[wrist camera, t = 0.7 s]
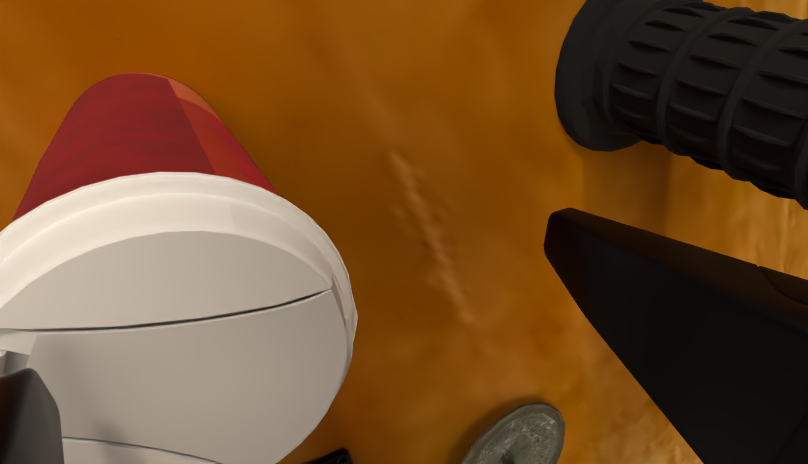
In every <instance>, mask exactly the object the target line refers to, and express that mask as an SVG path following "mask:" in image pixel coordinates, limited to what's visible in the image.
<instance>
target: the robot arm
mask: <svg viewBox="0 0 808 464" xmlns="http://www.w3.org/2000/svg"><path fill="white" fill-rule="evenodd" d="M544 252H545V255H546V257H547V259H548V260H549V262H550V263H551V265H552V267H553V268H554V270H555V271H556V273H557V274H558V276H559V277H560V279H561V280H562V282H563V283H564V285H565V287H566V288H567V290H568V291H569V293H570V294H571V296H572V297H573V299H574V300H575V302H576V303H577V305H578V307H579V308H580V309H581V311H582V312H583V314H584V315H585V317H586V318H587V319H588V320H589V322H590V323H591V324H592V326H593V327H594V328H595V329H596V331H597V332H598V333H599V334H600V336H601V337H602V338H603V339H604V341H605V342H606V343H607V344H608V346H609V347H610V348H611V349H612V350H613V352H614V353H615V354H616V355H617V357H618V358H619V359H620V360H621V362H622V363H623V364H624V365H625V367H626V368H627V369H628V370H629V372H630V373H631V374H632V375H633V377H634V378H635V379H636V380H637V381H638V383H639V384H640V385H641V386H642V388H643V389H644V390H645V391H646V393H647V394H648V395H649V396H650V398H651V399H652V400H653V401H654V403H655V404H656V405H657V406H658V407H659V409H660V410H661V411H662V412H663V414H664V415H665V416H666V417H667V419H668V420H669V421H670V422H671V424H672V425H673V426H674V427H675V429H676V430H677V431H678V432H679V433H680V435H681V436H682V437H683V438H684V440H685V441H686V442H687V443H688V445H689V446H690V447H691V448H692V450H693V451H694V452H695V453H696V455H697V456H698V457H699V458H700V460H701V461H702V462H703V463H704V464H808V280H805V279H802V278H799V277H795V276H792V275H788V274H785V273H782V272H778V271H775V270H772V269H769V268H765V267H762V266H759V267H758V266H757V265H755V264H752V263H749V262H746V261H742V260H739V259H736V258H733V257H729V256H726V255H723V254H720V253H716V252H713V251H710V250H707V249H703V248H700V247H697V246H694V245H690V244H687V243H684V242H681V241H677V240H674V239H671V238H668V237H664V236H661V235H658V234H655V233H651V232H648V231H645V230H642V229H638V228H635V227H632V226H629V225H625V224H622V223H619V222H616V221H612V220H609V219H606V218H603V217H599V216H596V215H593V214H590V213H586V212H583V211H580V210H577V209H573V208H566V209H562V210H559V211H556V212H553V213H552V214H551V215H550V217H549V219H548V224H547V230H546V235H545V241H544ZM0 464H64V453H63V443H62V432H61V421H60V414H59V409H58V406H57V404H56V402H55V400H54V398H53V397H52V395H51V393H50V392H49V390H48V389H47V387H46V385H45V384H44V382H43V381H42V379H41V377H40V376H39V374H38V373H37V372H36V371H35V370H34V369H32V368H25V369H21V370H18V371H15V372H11V373H8V374H5V375H2V376H0ZM313 464H353V463H352V461H351V458H350V455H349V453H348V451H347V450H340V451H338V452H336V453H334V454H332V455H330V456H328V457H326V458H324V459H322V460H319V461H317V462H315V463H313Z"/></svg>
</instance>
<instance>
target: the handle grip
mask: <svg viewBox="0 0 808 464" xmlns="http://www.w3.org/2000/svg"><path fill="white" fill-rule="evenodd" d="M555 96H556V102H557V109H558V115H559V117H560V119H561V121H562V123H563V125H564V127H565V129H566V131H567V133H568V134H569V135H570V136H571V137H572V138H573V139H574V140H575V141H576V142H577V143H578V144H579V145H582V146H584V147H586V148H588V149H591V150H595V151H615V150H618V149H621V148H625V147H628V146H632V145H634V144H635V143H637V142H639V141H641V140H644V141H646V142H649V143H651V144H659V145H665V147H666V148H667V149H668V150H669V151H670V152H672V153H674V154H676V155H680V156H690V157H691V158H692V159H693V160H694V161H695V162H696V163H698V164H700V165H703V166H705V167H708V168H710V169H716V170H724V171H725V172H726V173H727V174H728V175H729V176H730V177H731V178H733V179H736V180H741V181H750V182H751V183H752V184H753V185H755V186H756V187H757V188H759V189H760V190H762V191H764V192H767V193H769V194H771V195H774V196H776V197H781V198H788V199H795V200H796V201H797V202H798V203H799V204H800V205H801V206H802V207H803V209H806V210H808V19H804V20H801V19H796V18H791V17H789V16H787V15H785V14H783V13H775V12H768V11H761V12H754V11H753V10H751V9H750V8H748V7H734V8H729V9H727V8H725V7H720V6H715V5H713V4H712V3H708V2H703V0H587V1H586V3H585V4H584V5H583V7H582V8H581V10H580V11H579V13H578V14H577V15H576V17H575V19H574V21H573V23H572V25H571V27H570V29H569V32H568V34H567V36H566V38H565V40H564V42H563V45H562V49H561V53H560V57H559V61H558V65H557V69H556V88H555Z"/></svg>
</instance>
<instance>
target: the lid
mask: <svg viewBox="0 0 808 464" xmlns="http://www.w3.org/2000/svg"><path fill="white" fill-rule="evenodd" d="M564 435H565V421H564V419H563V417H562V415H561V413H560V411H559V410H558V409H556V408H554V407H552V406H551V405H549V404H547V403H532V404H527V405H521V406H519V407H517V408H516V409H514V410H512V411H511V412H509V413H507V414H505V415H503V416H502V417H500V418H499V419H498V420H496V421H495V422H494V423H492V424H491V425H490V426H489V427H488V428H487V429H486V430H484V431H483V432H482V433H481V435H480V436H479V437H478V438H477V439H476V441H475V442H474V443H473V444H472V446H471V447H470V449H469V450H468V451H467V453H466V455H465V456H464V458H463V460H462V461H461V463H460V464H556V463H557V461H558V459H559V457H560V453H561V451H562V447H563V444H564Z"/></svg>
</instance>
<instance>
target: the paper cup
mask: <svg viewBox="0 0 808 464" xmlns="http://www.w3.org/2000/svg"><path fill="white" fill-rule="evenodd" d="M357 320H358V314H357V310H356V306H355V303H354V299H353V294H352V290H351V285H350V280H349V275H348V272H347V270H346V267H345V265H344V263H343V260H342V258H341V255H340V253H339V252H338V250H337V249H336V247H335V246H334V244H333V243H332V241H331V240H330V238H329V237H328V235H327V234H326V233H325V232H324V231H323V230H322V229H321V228H320V227H319V226H318V225H317V223H316V222H315V221H314V220H313V219H312V218H311V217H310V216H309V215H307V214H306V213H304V212H303V211H302V210H300V209H299V208H297V207H296V206H295V205H293V204H292V203H290V202H289V201H288V200H286V199H284V198H282V197H280V196H279V195H278V193H277V192H276V191H275V189H274V188H273V187H272V185H271V184H270V183H269V181H268V180H267V179H266V177H265V176H264V175H263V174H262V172H261V171H260V170H259V168H258V167H257V166H256V164H255V163H254V162H253V160H252V159H251V158H250V156H249V155H248V154H247V152H246V151H245V150H244V149H243V147H242V146H241V145H240V143H239V142H238V141H237V139H236V138H235V137H234V136H233V134H232V133H231V132H230V130H229V129H228V128H227V127H226V125H225V124H224V123H223V121H222V120H221V119H220V118H219V116H218V115H217V114H216V113H215V112H214V110H213V109H212V108H211V107H210V106H209V105H208V104H207V103H206V102H205V101H204V100H203V99H202V98H201V97H200V96H199V95H198V94H197V93H196V92H194V91H193V90H192V89H190V88H189V87H187V86H185V85H184V84H182V83H180V82H178V81H176V80H173V79H171V78H168V77H165V76H161V75H157V74H151V73H126V74H120V75H116V76H113V77H110V78H107V79H105V80H102V81H100V82H99V83H97V84H95V85H93V86H92V87H90V88H89V89H88V90H87V91H85V92H84V93H83V94H82V95H81V96H80V97H79V98H78V99H77V101H76V102H75V103H74V104H73V106H72V107H71V109H70V110H69V112H68V113H67V115H66V117H65V118H64V120H63V122H62V124H61V125H60V127H59V129H58V131H57V133H56V135H55V137H54V138H53V140H52V142H51V144H50V145H49V147H48V148H47V150H46V152H45V153H44V155H43V157H42V158H41V160H40V162H39V164H38V166H37V169H36V171H35V173H34V175H33V178H32V180H31V182H30V185H29V187H28V189H27V191H26V193H25V195H24V197H23V199H22V201H21V203H20V205H19V207H18V209H17V211H16V213H15V215H14V217H13V219H12V221H11V223H10V225H9V226H7V227H6V228H5V229H4V230H3V231H1V232H0V376H2V375H5V374H8V373H11V372H15V371H18V370H21V369H25V368H32V369H34V370H35V371H36V372H37V373H38V374H39V376H40V377H41V379H42V381H43V382H44V384H45V385H46V387H47V389H48V390H49V392H50V393H51V395H52V397H53V398H54V400H55V402H56V404H57V406H58V409H59V414H60V421H61V432H62V443H63V453H64V464H276V463H278V462H279V461H280V460H282V459H283V458H284V457H285V456H286V455H288V454H289V453H290V452H291V451H293V450H294V449H295V448H296V447H297V446H299V445H300V444H301V443H302V442H303V441H304V440H305V439H306V438H307V437H308V436H309V435H310V434H311V432H312V431H313V430H314V429H315V428H316V427H317V426H318V424H319V423H320V421H321V420H322V418H323V417H324V416H325V414H326V413H327V411H328V409H329V407H330V405H331V403H332V401H333V399H334V398H335V396H336V395H337V393H338V391H339V389H340V387H341V386H342V383H343V381H344V379H345V377H346V374H347V372H348V369H349V366H350V362H351V359H352V353H353V340H354V337H355V332H356V326H357Z"/></svg>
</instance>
